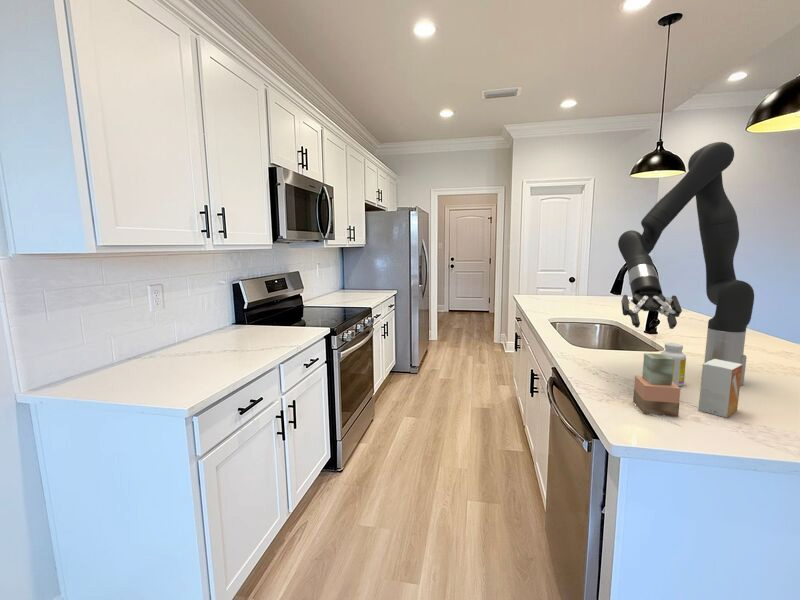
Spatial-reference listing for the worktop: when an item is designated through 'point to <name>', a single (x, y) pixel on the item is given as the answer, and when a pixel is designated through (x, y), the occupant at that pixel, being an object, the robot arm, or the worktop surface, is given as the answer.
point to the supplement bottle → (676, 362)
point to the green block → (658, 369)
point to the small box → (720, 387)
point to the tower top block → (656, 391)
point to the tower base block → (656, 406)
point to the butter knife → (659, 416)
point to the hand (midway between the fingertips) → (655, 326)
